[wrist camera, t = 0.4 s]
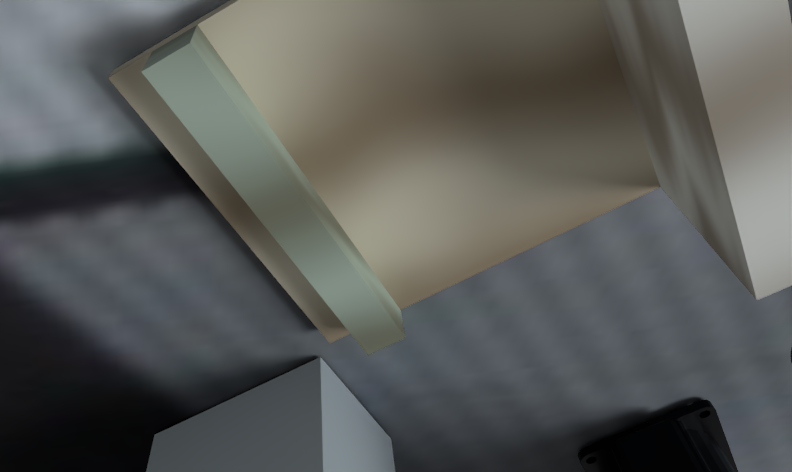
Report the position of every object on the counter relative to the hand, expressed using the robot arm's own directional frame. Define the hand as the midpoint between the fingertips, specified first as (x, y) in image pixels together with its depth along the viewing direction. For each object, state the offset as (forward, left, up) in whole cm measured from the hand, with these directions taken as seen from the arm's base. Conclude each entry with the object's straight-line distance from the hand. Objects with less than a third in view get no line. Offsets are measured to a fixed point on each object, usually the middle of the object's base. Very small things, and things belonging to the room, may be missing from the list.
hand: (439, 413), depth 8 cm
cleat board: (-3, -1, -14) cm, 14 cm away
